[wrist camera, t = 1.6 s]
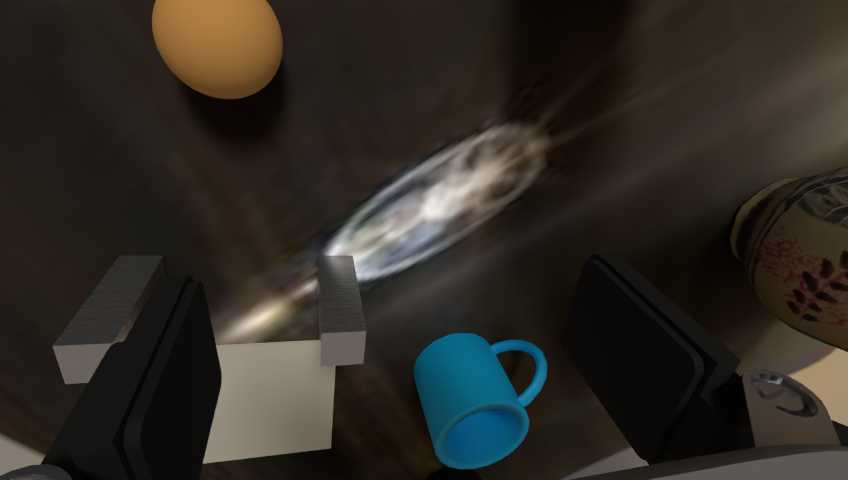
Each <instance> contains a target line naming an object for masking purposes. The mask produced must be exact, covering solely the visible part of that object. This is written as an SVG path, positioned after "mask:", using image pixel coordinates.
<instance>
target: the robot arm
mask: <svg viewBox="0 0 848 480" xmlns="http://www.w3.org/2000/svg"><path fill="white" fill-rule="evenodd" d="M561 343H562V347H563V349H564V351H565V352H566V354H567V355H568V357H569V358H570V359H571V361H572V362H573V364H574V365H575V367H576V368H577V369H578V371H579V372H580V374H581V375H582V377H583V378H584V379H585V381H586V382H587V384H588V385H589V387H590V388H591V389H592V391H593V392H594V394H595V395H596V396H597V398H598V399H599V401H600V402H601V404H602V405H603V406H604V408H605V409H606V411H607V412H608V414H609V415H610V416H611V418H612V419H613V421H614V422H615V424H616V425H617V426H618V428H619V429H620V431H621V432H622V434H623V435H624V436H625V438H626V439H627V441H628V442H629V444H630V445H631V446H632V448H633V449H634V451H635V452H636V453H637V455H638V456H639V457H640V458H642V459H643V460H646V461H647V463H648V464H649V465H648V466H643V467H637V468H632V469H626V470H621V471H616V472H609V473H604V474H599V475H593V476H588V477H582V478H577V479H572V480H848V426H845V425H842V424H840V423H837V422H835V421H833V420H831V419H830V416H829V414H828V411H827V409H826V407H825V406H824V404H823V402H822V401H821V400H820V399H819V398H818V397H817V396H816V395H815V394H814V393H813V392H812V391H811V390H809V389H808V388H807V387H805V386H804V385H803V384H801V383H799V382H798V381H796V380H794V379H792V378H791V377H789V376H786V375H784V374H781V373H779V372H776V371H773V370H769V369H765V368H752V369H747V370H746V371H745V372H744V373H743V374H742V376H741V377H740V376H739V375H738V374H737V373H736V372H735V369H736V368H737V366H738V364H739V363H740V361H741V360H740V359H739V358H738V357H737V356H736V355H734V354H733V353H732V352H731V351H730V350H729V349H727V348H726V347H725V346H724V345H723V344H722V343H720V342H719V341H718V340H717V339H716V338H715V337H713V336H712V335H711V334H710V333H709V332H708V331H706V330H705V329H704V328H703V327H702V326H701V325H699V324H698V323H697V322H696V321H695V320H694V319H692V318H691V317H690V316H689V315H688V314H687V313H685V312H684V311H683V310H682V309H681V308H680V307H678V306H677V305H676V304H675V303H674V302H673V301H671V300H670V299H669V298H668V297H667V296H666V295H664V294H663V293H662V292H661V291H660V290H659V289H657V288H656V287H655V286H654V285H653V284H652V283H650V282H649V281H648V280H647V279H646V278H644V277H643V276H642V275H641V274H640V273H639V272H637V271H636V270H635V269H634V268H633V267H632V266H630V265H629V264H628V263H627V262H626V261H625V260H623V259H622V258H621V257H620V256H619V255H617V254H616V253H603V254H593V255H592V256H591V257H590V258H589V260H586V261H585V262H584V265H583V268H582V271H581V274H580V278H579V281H578V284H577V287H576V291H575V294H574V297H573V300H572V304H571V307H570V310H569V314H568V317H567V320H566V323H565V327H564V330H563V333H562V337H561ZM221 382H222V373H221V367H220V362H219V358H218V353H217V348H216V343H215V339H214V334H213V329H212V324H211V319H210V315H209V310H208V305H207V300H206V296H205V291H204V287H203V284H202V282H201V281H199V282H194V281H193V278H192V277H191V276H190V275H187V276H168V277H160V278H159V279H158V281H157V282H156V284H155V286H154V288H153V290H152V291H151V293H150V295H149V297H148V299H147V300H146V302H145V304H144V306H143V308H142V310H141V311H140V313H139V315H138V317H137V319H136V320H135V322H134V324H133V326H132V328H131V330H130V331H129V333H128V335H127V337H126V339H125V340H124V342H116V343H114V344H113V345H111V346H110V348H109V349H108V350H107V352H106V353H105V355H104V357H103V358H102V360H101V362H100V363H99V365H98V367H97V369H96V370H95V372H94V374H93V375H92V377H91V379H90V381H89V382H88V384H87V386H86V387H85V389H84V391H83V393H82V394H81V396H80V398H79V399H78V401H77V403H76V405H75V406H74V408H73V410H72V411H71V413H70V415H69V417H68V418H67V420H66V422H65V423H64V425H63V427H62V429H61V430H60V432H59V434H58V435H57V437H56V439H55V441H54V442H53V444H52V446H51V447H50V449H49V451H48V453H47V454H46V456H45V458H44V459H43V461H42V463H41V464H40V465H30V466H27V467H24V468H20V469H16V470H13V471H10V472H8V473H6V474H3V475H1V476H0V480H199V477H200V473H201V468H202V464H203V460H204V456H205V452H206V448H207V443H208V439H209V435H210V431H211V427H212V422H213V418H214V414H215V410H216V406H217V402H218V397H219V393H220V389H221Z"/></svg>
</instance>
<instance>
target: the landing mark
mask: <svg viewBox="0 0 848 480" xmlns="http://www.w3.org/2000/svg"><path fill="white" fill-rule="evenodd" d="M216 348H217V353H218V358H219V362H220V367H221V373H222V382H221V389H220V393H219V397H218V402H217V406H216V410H215V414H214V418H213V422H212V427H211V431H210V435H209V439H208V443H207V448H206V452H205V456H204V460H203V463H212V462H220V461H229V460H237V459H245V458H254V457H262V456H271V455H279V454H287V453H296V452H304V451H313V450H321V449H329V448H331V438H332V420H333V403H334V385H335V367H336V366H323V367H321V366H320V340H308V341H289V342H269V343H250V344H230V345H216Z"/></svg>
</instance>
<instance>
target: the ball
mask: <svg viewBox="0 0 848 480" xmlns="http://www.w3.org/2000/svg"><path fill="white" fill-rule="evenodd" d="M152 29H153V35H154V39H155V42H156V45H157V48H158V50H159V52H160V55H161V57H162V58H163V60H164V61H165V63H166V64H167V66H168V67H169V68H170V70H171V71H172V72H173V73H174V74H175V75H176V76H177V77H178V78H179V79H180V80H181V81H183V82H184V83H185V84H187V85H188V86H189V87H191V88H193V89H194V90H196V91H198V92H200V93H203V94H205V95H208V96H212V97H215V98H222V99H238V98H243V97H247V96H250V95H252V94H255V93H256V92H258V91H260V90H261V89H262V88H264V87H265V86H266V85H267V84H268V83H269V82H270V81H271V80H272V78H273V77H274V76H275V74H276V72H277V70H278V68H279V65H280V62H281V58H282V49H283V43H282V35H281V30H280V26H279V23H278V20H277V18H276V16H275V14H274V12H273V10H272V8H271V7H270V5H269V4H268V2H267V1H266V0H156V2H155V5H154V9H153V15H152Z"/></svg>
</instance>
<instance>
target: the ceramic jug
mask: <svg viewBox="0 0 848 480" xmlns="http://www.w3.org/2000/svg"><path fill="white" fill-rule="evenodd" d="M730 243H731V248H732V253H733V255H734V256H735V257H736V258H737V259H739V260H740V261H741V262H743V263H744V264H745V268H746V272H747V276H748V280H749V283H750V285H751V287H752V289H753V291H754V292H755V294H756V295H757V296H758V298H759V299H760V301H761V302H762V303H763V305H764V306H765V307H766V308H767V309H768V310H769V311H770V312H771V313H772V314H773V315H775V316H776V317H777V318H778V319H779V320H781V321H782V322H784V323H785V324H787V325H788V326H790V327H791V328H793V329H795V330H797V331H798V332H800V333H803V334H805V335H807V336H809V337H811V338H813V339H816V340H819V341H821V342H823V343H825V344H827V345H831V346H834V347H837V348H839V349H842V350H844V351H847V352H848V166H846V167H841V168H838V169H834V170H831V171H828V172H825V173H822V174H819V175H815V176H812V177H805V178H795V179H792V178H786V179H782V180H780V181H778V182H775V183H773V184H771V185H769V186H767V187H766V188H764V189H763V190H762V191H760V192H759V193H758V194H756V195H755V196H754V197H752V198H751V199H750V200H748V201H747V202H746V203H745V204H744V205H742V206H741V208H740V210H739V212H738V213H737V216H736V220H735V223H734V226H733V229H732V232H731V236H730Z"/></svg>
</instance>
